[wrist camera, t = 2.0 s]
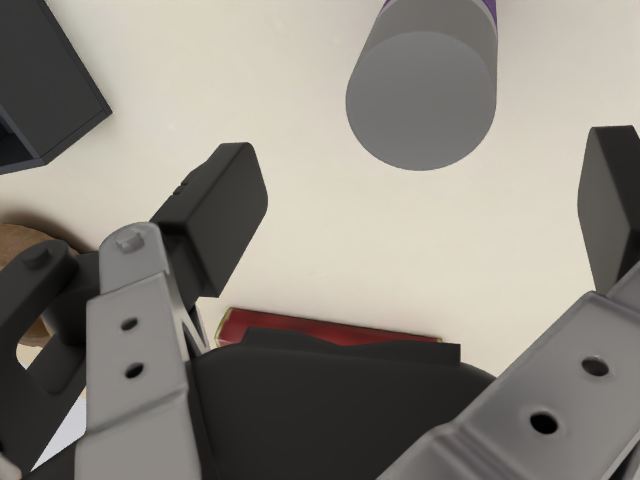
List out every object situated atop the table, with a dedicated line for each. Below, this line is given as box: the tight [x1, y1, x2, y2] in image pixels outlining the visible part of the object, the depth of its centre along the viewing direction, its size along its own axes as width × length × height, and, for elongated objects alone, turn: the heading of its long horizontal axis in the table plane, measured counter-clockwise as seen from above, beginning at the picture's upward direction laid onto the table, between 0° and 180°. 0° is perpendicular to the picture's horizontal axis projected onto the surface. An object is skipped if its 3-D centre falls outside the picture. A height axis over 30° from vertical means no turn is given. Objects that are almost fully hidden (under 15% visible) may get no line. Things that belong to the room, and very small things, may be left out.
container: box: [346, 0, 498, 171], centre depth 20 cm, size 5×5×15 cm
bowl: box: [0, 224, 80, 348], centre depth 47 cm, size 18×14×10 cm
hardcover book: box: [214, 308, 442, 348], centre depth 48 cm, size 12×21×4 cm, turn 95°
